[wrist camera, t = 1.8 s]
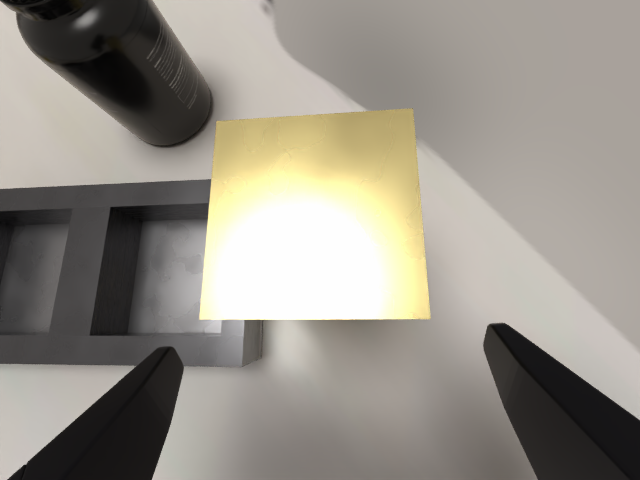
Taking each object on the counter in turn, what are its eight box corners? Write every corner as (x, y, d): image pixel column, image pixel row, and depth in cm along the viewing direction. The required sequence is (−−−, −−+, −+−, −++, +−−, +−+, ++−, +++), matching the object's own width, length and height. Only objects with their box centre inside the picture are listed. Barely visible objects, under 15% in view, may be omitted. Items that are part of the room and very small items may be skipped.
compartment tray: (261, 357, 19) (242, 366, 16) (-25, 354, 21) (-96, 362, 18) (267, 198, 22) (251, 177, 18) (11, 208, 24) (-46, 191, 20)
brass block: (380, 316, 19) (430, 318, 7) (293, 316, 20) (199, 319, 8) (376, 230, 20) (413, 108, 8) (294, 232, 21) (216, 121, 9)
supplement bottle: (173, 59, 25) (24, -155, 14) (231, 101, 24) (118, -99, 12) (113, 118, 25) (-98, -56, 13) (169, 166, 23) (-15, 17, 12)
